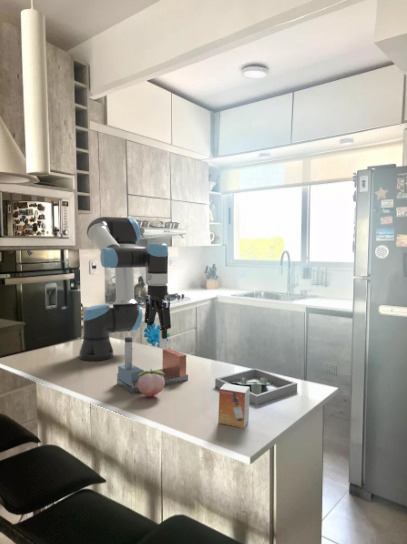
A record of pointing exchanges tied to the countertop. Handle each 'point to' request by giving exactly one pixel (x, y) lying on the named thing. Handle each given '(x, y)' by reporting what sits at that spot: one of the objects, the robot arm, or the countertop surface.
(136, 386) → the frame
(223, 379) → the parts tray
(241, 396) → the small box
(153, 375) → the decorative fruit
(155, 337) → the gear
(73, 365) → the countertop surface
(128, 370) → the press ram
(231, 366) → the countertop surface
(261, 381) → the metal bracket
